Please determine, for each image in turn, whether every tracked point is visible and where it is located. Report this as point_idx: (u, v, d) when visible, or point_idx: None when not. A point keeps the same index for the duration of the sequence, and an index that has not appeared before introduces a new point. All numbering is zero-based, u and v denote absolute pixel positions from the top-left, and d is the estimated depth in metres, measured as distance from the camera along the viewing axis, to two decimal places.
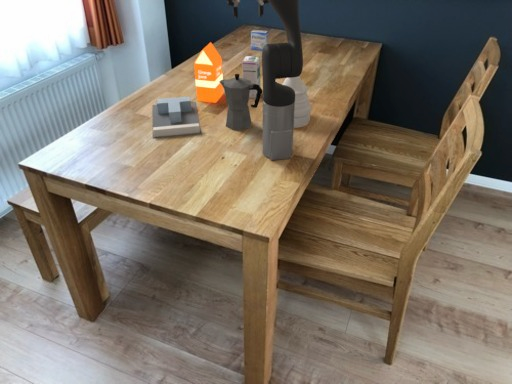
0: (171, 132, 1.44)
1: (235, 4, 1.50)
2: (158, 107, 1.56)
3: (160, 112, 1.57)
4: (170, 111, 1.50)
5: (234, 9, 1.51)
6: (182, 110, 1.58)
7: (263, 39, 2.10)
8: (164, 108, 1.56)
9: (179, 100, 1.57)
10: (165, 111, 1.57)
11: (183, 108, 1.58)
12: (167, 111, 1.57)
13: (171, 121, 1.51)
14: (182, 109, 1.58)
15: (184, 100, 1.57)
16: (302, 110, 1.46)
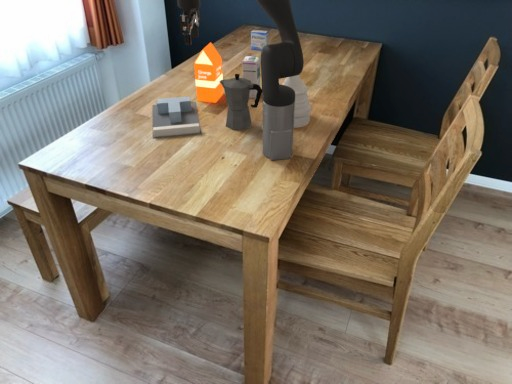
0: (171, 132, 1.44)
1: (190, 31, 1.48)
2: (158, 107, 1.56)
3: (160, 112, 1.57)
4: (170, 111, 1.50)
5: (189, 37, 1.49)
6: (182, 110, 1.58)
7: (263, 39, 2.10)
8: (164, 108, 1.56)
9: (179, 100, 1.57)
10: (165, 111, 1.57)
11: (183, 108, 1.58)
12: (167, 111, 1.57)
13: (171, 121, 1.51)
14: (182, 109, 1.58)
15: (184, 100, 1.57)
16: (302, 110, 1.46)
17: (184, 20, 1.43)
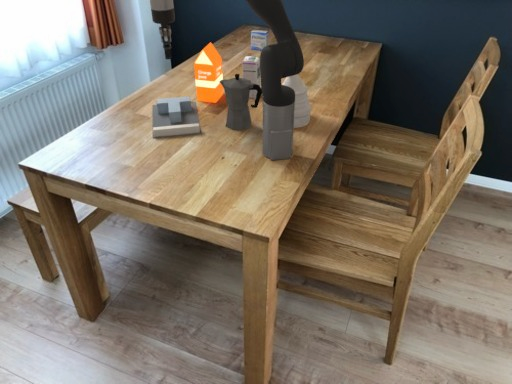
0: (171, 132, 1.44)
1: None
2: (158, 107, 1.56)
3: (160, 112, 1.57)
4: (170, 111, 1.50)
5: (169, 51, 1.52)
6: (182, 110, 1.58)
7: (263, 39, 2.10)
8: (164, 108, 1.56)
9: (179, 100, 1.57)
10: (165, 111, 1.57)
11: (183, 108, 1.58)
12: (167, 111, 1.57)
13: (171, 121, 1.51)
14: (182, 109, 1.58)
15: (184, 100, 1.57)
16: (302, 110, 1.46)
17: (167, 40, 1.46)
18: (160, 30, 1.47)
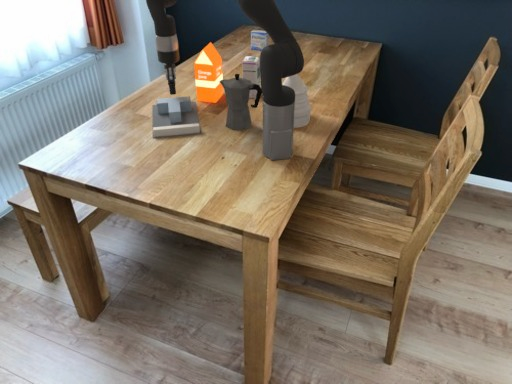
0: (171, 132, 1.44)
1: None
2: (158, 107, 1.56)
3: (160, 112, 1.57)
4: (170, 111, 1.50)
5: (174, 87, 1.61)
6: (182, 110, 1.58)
7: (263, 39, 2.10)
8: (164, 108, 1.56)
9: (179, 100, 1.57)
10: (165, 111, 1.57)
11: (183, 108, 1.58)
12: (167, 111, 1.57)
13: (171, 121, 1.51)
14: (182, 109, 1.58)
15: (184, 100, 1.57)
16: (302, 110, 1.46)
17: (172, 79, 1.54)
18: (165, 69, 1.56)
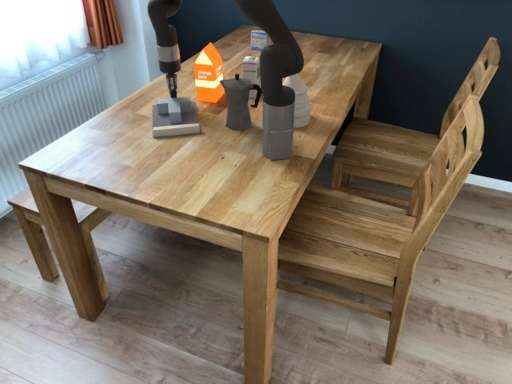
0: (171, 132, 1.44)
1: None
2: (158, 107, 1.55)
3: (160, 112, 1.57)
4: (170, 111, 1.49)
5: (175, 96, 1.60)
6: (182, 110, 1.58)
7: (263, 39, 2.10)
8: (164, 108, 1.56)
9: (179, 100, 1.56)
10: (165, 111, 1.57)
11: (183, 109, 1.57)
12: (167, 111, 1.57)
13: (171, 121, 1.51)
14: (182, 109, 1.57)
15: (184, 101, 1.56)
16: (302, 110, 1.46)
17: (173, 89, 1.53)
18: (167, 79, 1.55)
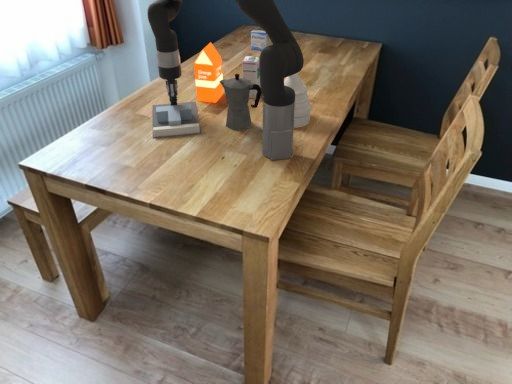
0: (171, 132, 1.44)
1: None
2: (157, 115, 1.50)
3: (160, 120, 1.51)
4: (170, 120, 1.44)
5: (176, 103, 1.54)
6: (182, 118, 1.53)
7: (263, 39, 2.10)
8: (164, 116, 1.51)
9: (179, 108, 1.51)
10: (165, 119, 1.52)
11: (184, 117, 1.52)
12: (167, 119, 1.52)
13: None
14: (182, 117, 1.52)
15: (185, 108, 1.51)
16: (302, 110, 1.46)
17: (173, 96, 1.48)
18: (167, 85, 1.49)
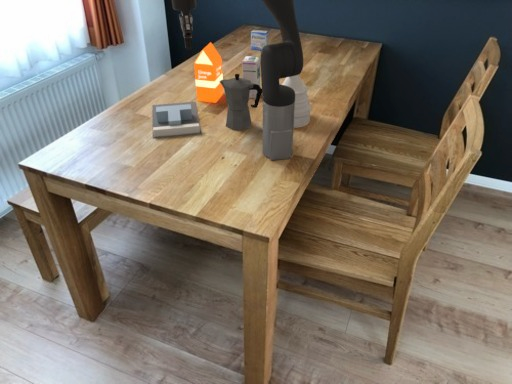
0: (171, 132, 1.44)
1: None
2: (157, 115, 1.50)
3: (160, 120, 1.51)
4: (170, 120, 1.44)
5: (190, 40, 1.43)
6: (182, 118, 1.53)
7: (263, 39, 2.10)
8: (164, 116, 1.51)
9: (179, 108, 1.51)
10: (165, 119, 1.52)
11: (184, 117, 1.52)
12: (167, 119, 1.52)
13: None
14: (182, 117, 1.52)
15: (185, 108, 1.51)
16: (302, 110, 1.46)
17: (189, 28, 1.37)
18: (181, 18, 1.38)
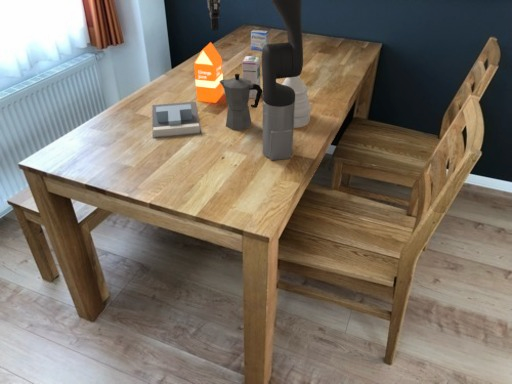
0: (171, 132, 1.44)
1: None
2: (157, 115, 1.50)
3: (160, 120, 1.51)
4: (170, 120, 1.44)
5: (217, 21, 1.39)
6: (182, 118, 1.53)
7: (263, 39, 2.10)
8: (164, 116, 1.51)
9: (179, 108, 1.51)
10: (165, 119, 1.52)
11: (184, 117, 1.52)
12: (167, 119, 1.52)
13: None
14: (182, 117, 1.52)
15: (185, 108, 1.51)
16: (302, 110, 1.46)
17: (216, 8, 1.33)
18: None
